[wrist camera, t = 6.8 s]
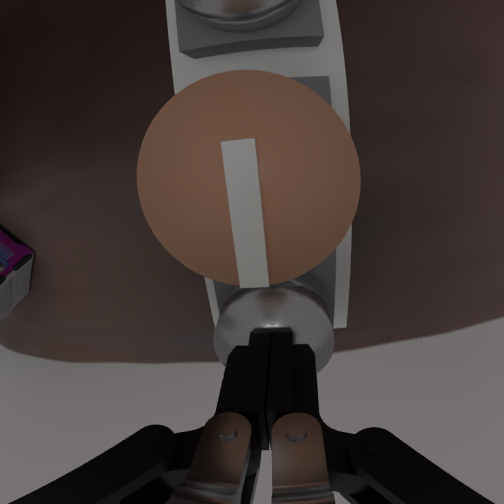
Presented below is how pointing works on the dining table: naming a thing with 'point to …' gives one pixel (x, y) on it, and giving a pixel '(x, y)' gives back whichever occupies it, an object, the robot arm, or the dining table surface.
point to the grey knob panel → (286, 64)
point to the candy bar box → (13, 272)
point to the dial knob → (248, 178)
